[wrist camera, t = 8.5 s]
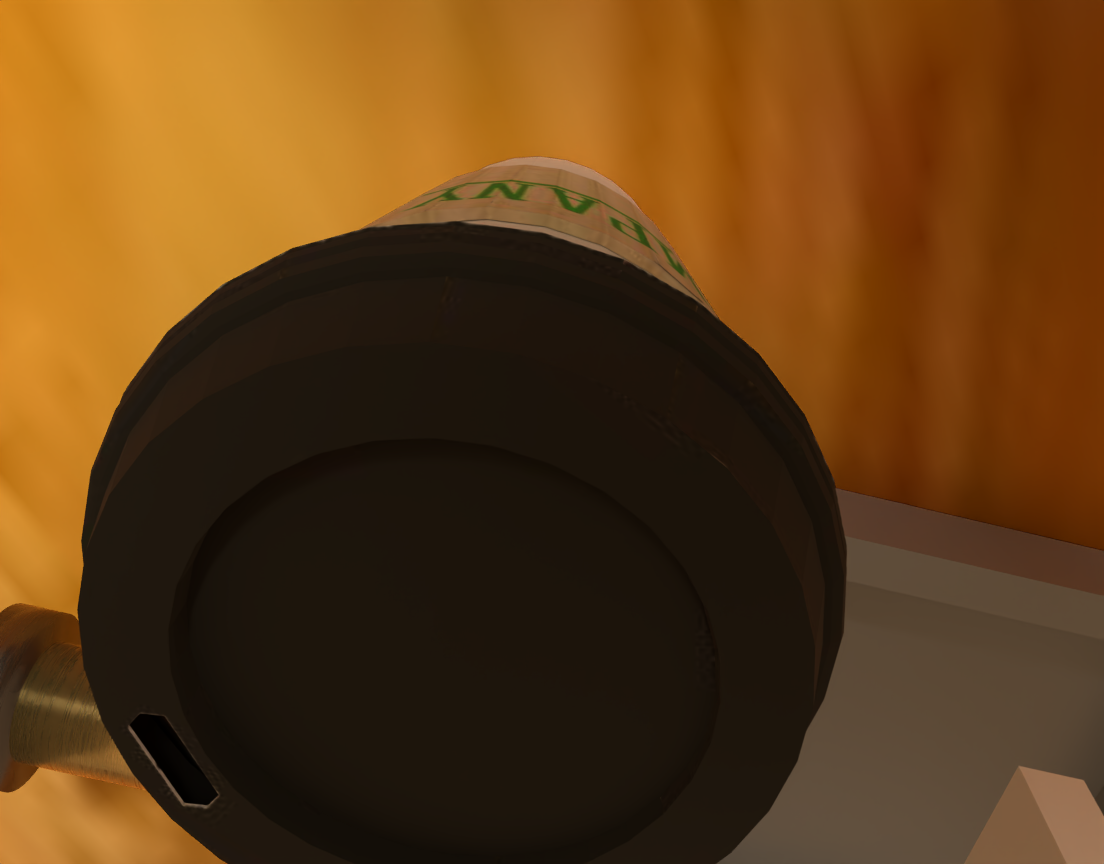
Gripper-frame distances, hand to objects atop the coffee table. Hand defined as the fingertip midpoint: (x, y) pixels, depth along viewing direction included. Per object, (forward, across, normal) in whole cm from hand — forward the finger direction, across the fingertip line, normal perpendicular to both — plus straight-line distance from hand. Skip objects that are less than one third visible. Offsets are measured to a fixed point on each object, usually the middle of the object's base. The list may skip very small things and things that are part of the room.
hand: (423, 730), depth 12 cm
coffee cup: (+16, 0, 0) cm, 16 cm away
